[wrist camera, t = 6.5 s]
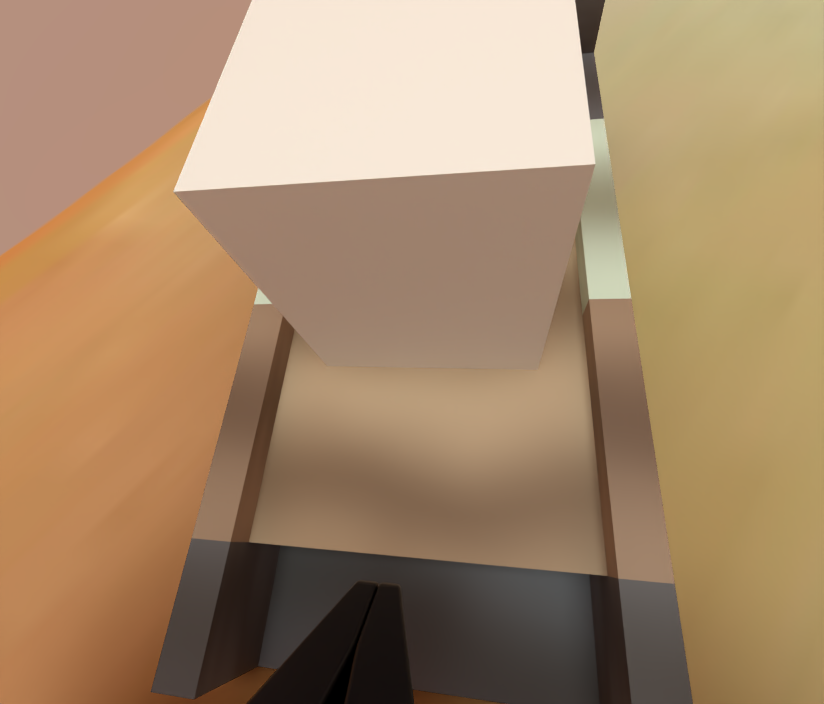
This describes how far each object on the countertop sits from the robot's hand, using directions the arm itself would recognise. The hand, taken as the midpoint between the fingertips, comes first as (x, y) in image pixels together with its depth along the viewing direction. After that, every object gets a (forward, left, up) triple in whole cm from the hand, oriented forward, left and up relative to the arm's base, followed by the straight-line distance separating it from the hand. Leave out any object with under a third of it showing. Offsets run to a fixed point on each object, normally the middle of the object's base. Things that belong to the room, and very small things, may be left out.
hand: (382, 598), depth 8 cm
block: (+8, -8, -4) cm, 11 cm away
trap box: (+7, -7, -6) cm, 11 cm away
